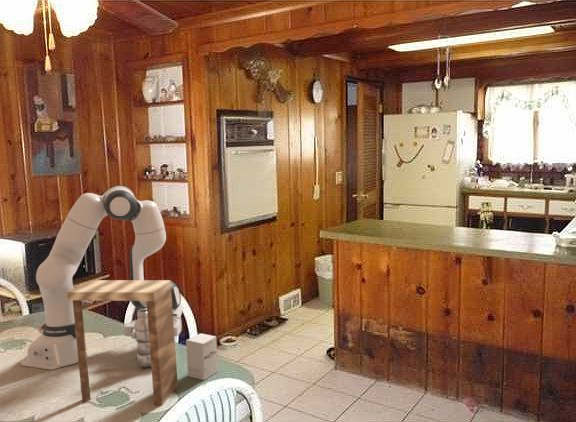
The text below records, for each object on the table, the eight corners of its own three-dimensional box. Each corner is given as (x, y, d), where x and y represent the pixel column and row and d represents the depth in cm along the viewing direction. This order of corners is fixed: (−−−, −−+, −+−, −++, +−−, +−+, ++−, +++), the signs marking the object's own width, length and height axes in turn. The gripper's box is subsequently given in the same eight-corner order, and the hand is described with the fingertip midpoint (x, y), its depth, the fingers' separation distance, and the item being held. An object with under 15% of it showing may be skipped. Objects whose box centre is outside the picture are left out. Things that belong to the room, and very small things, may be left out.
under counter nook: (77, 401, 155) (66, 292, 151) (99, 382, 168) (89, 280, 163) (162, 405, 151) (153, 292, 147) (177, 384, 164) (170, 280, 160)
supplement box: (204, 381, 166) (202, 343, 164) (187, 376, 170) (185, 339, 168) (218, 372, 172) (216, 336, 171) (202, 367, 176) (200, 332, 174)
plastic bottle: (151, 370, 175) (147, 314, 173) (133, 369, 177) (129, 313, 174) (160, 362, 182) (156, 308, 179) (142, 361, 183) (138, 307, 180)
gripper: (132, 314, 191) (114, 327, 178) (184, 314, 188) (170, 328, 175) (133, 330, 192) (116, 344, 179) (185, 331, 189) (172, 346, 176)
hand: (143, 336), depth 177 cm, fingers closed on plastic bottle, 6 cm apart
